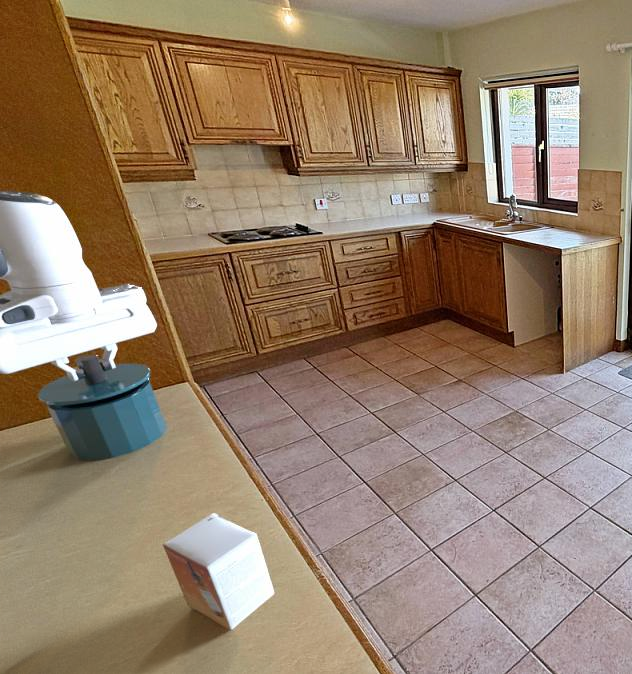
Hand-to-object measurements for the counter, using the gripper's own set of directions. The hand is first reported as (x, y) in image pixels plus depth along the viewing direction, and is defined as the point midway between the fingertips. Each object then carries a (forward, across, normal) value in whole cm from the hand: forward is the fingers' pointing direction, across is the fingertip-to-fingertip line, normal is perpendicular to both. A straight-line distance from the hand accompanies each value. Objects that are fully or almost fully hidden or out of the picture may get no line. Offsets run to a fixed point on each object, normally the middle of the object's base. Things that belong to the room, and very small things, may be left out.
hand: (93, 373), depth 81 cm
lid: (+2, 0, 0) cm, 2 cm away
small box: (+14, +12, +50) cm, 53 cm away
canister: (+14, 0, 0) cm, 14 cm away
